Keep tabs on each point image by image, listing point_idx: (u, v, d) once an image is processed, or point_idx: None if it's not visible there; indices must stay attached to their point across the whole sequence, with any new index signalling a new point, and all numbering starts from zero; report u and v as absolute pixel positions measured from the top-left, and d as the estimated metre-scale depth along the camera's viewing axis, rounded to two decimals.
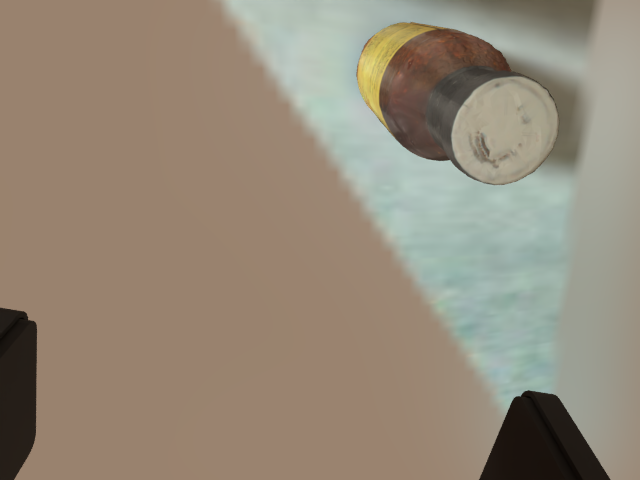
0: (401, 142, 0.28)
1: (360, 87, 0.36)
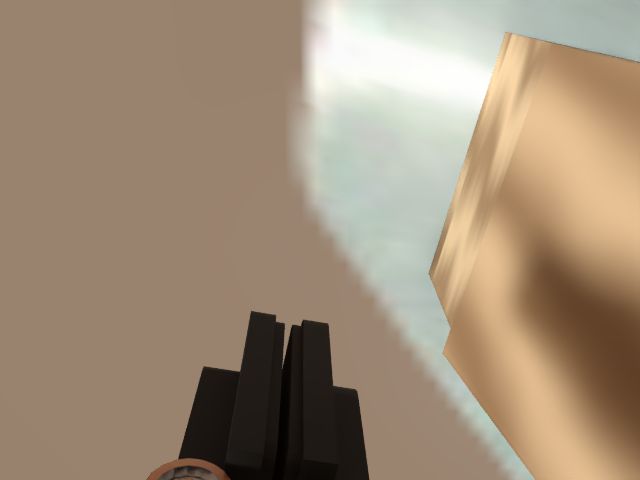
0: None
1: None
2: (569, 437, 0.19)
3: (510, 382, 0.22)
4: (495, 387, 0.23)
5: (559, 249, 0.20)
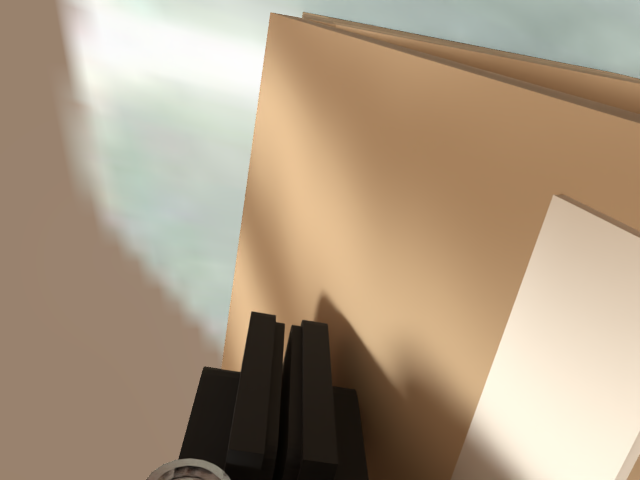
0: None
1: None
2: None
3: None
4: None
5: (283, 278, 0.15)
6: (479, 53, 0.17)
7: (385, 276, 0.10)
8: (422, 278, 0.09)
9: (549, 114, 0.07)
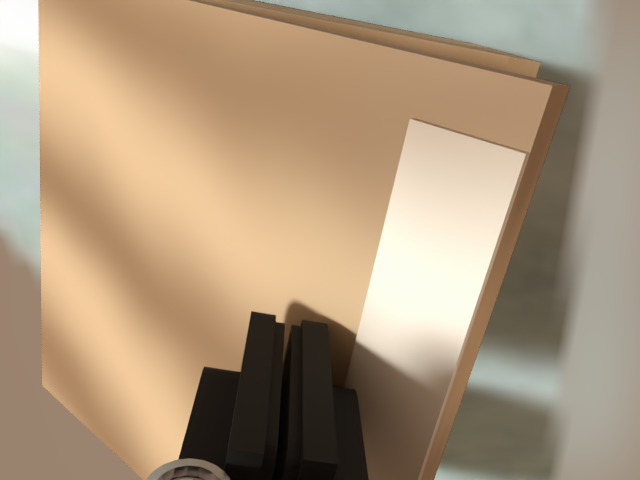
0: None
1: None
2: None
3: (119, 405, 0.18)
4: (106, 414, 0.18)
5: (122, 237, 0.16)
6: (265, 9, 0.17)
7: (256, 207, 0.12)
8: (296, 201, 0.12)
9: (393, 61, 0.10)
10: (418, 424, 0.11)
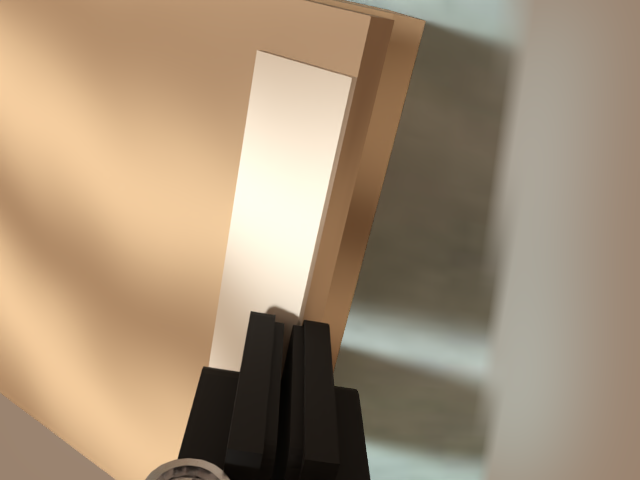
0: None
1: None
2: (87, 392, 0.16)
3: (15, 354, 0.18)
4: (2, 365, 0.18)
5: (5, 184, 0.16)
6: None
7: (130, 144, 0.13)
8: (166, 135, 0.12)
9: None
10: None
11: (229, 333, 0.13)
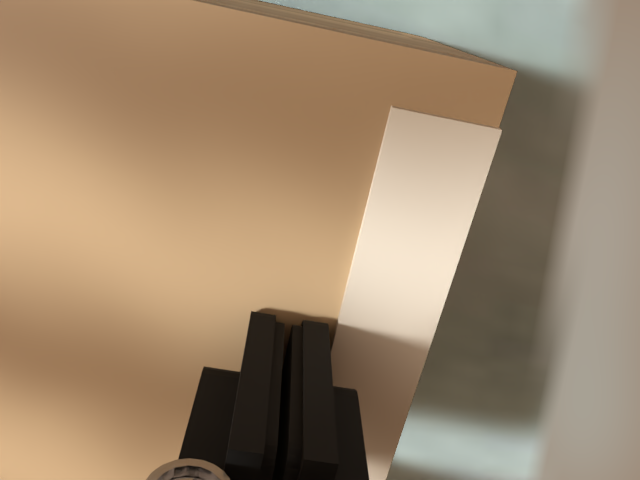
0: None
1: None
2: None
3: None
4: None
5: None
6: None
7: (193, 218, 0.11)
8: (250, 203, 0.11)
9: (366, 51, 0.10)
10: (406, 373, 0.12)
11: None
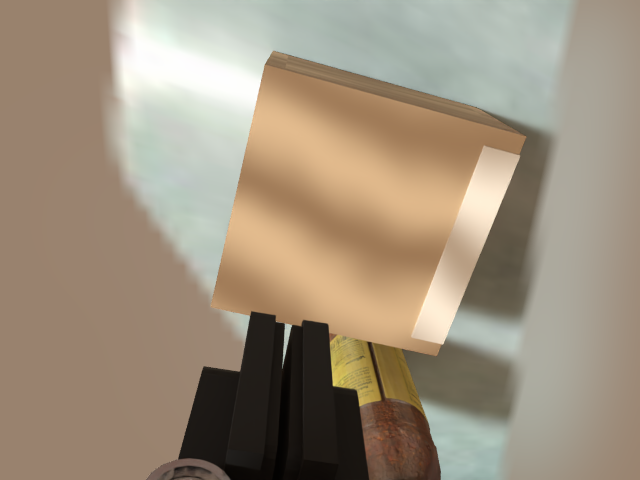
0: None
1: None
2: (351, 300, 0.33)
3: (294, 294, 0.33)
4: (280, 303, 0.33)
5: (314, 203, 0.31)
6: (368, 90, 0.30)
7: (410, 180, 0.30)
8: (431, 176, 0.30)
9: (478, 127, 0.29)
10: (478, 244, 0.32)
11: (452, 250, 0.32)
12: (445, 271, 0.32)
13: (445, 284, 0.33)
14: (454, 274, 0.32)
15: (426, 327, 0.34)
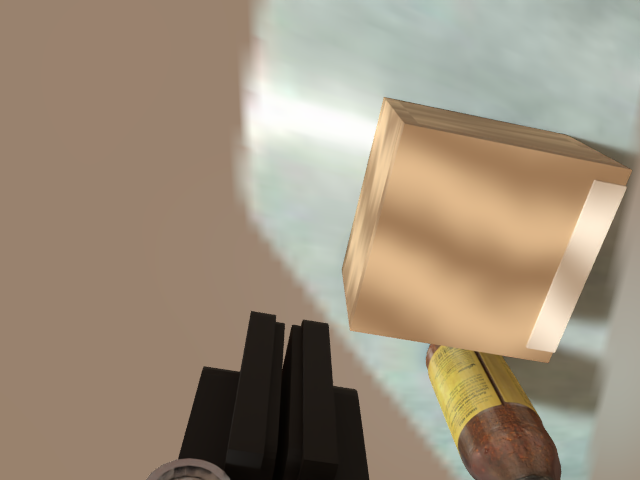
0: (474, 478, 0.39)
1: (431, 382, 0.47)
2: (473, 318, 0.37)
3: (423, 315, 0.37)
4: (411, 324, 0.37)
5: (443, 237, 0.35)
6: None
7: (528, 213, 0.34)
8: (546, 208, 0.34)
9: (589, 164, 0.33)
10: (588, 265, 0.36)
11: (565, 271, 0.36)
12: (558, 289, 0.36)
13: (558, 300, 0.37)
14: (566, 291, 0.36)
15: (540, 338, 0.38)
